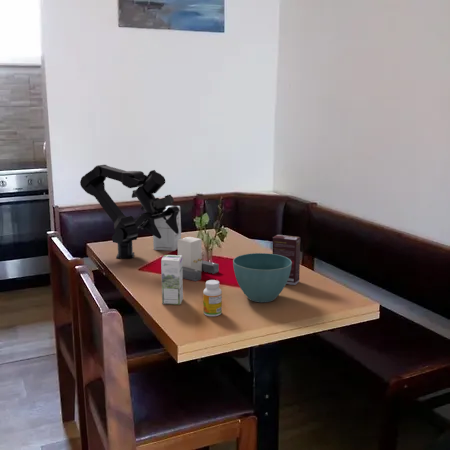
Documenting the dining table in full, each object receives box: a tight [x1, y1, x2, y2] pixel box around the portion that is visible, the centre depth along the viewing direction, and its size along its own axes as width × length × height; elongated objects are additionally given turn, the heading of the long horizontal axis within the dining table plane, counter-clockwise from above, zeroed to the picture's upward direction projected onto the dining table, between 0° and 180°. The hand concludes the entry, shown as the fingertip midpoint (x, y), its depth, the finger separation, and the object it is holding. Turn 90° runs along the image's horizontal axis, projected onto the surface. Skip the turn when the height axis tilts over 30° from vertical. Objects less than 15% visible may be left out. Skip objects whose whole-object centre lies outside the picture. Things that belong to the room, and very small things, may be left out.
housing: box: [183, 260, 220, 282], centre depth 206 cm, size 10×13×3 cm
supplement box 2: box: [272, 234, 301, 286], centre depth 197 cm, size 9×5×16 cm, turn 65°
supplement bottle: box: [202, 279, 223, 317], centre depth 170 cm, size 5×5×10 cm
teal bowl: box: [232, 252, 292, 303], centre depth 182 cm, size 18×18×12 cm
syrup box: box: [160, 254, 184, 306], centre depth 178 cm, size 6×6×14 cm
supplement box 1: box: [152, 205, 182, 252], centre depth 238 cm, size 10×9×17 cm
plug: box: [177, 236, 203, 272], centre depth 207 cm, size 7×6×12 cm
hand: (169, 235), depth 211 cm, fingers open, 9 cm apart
